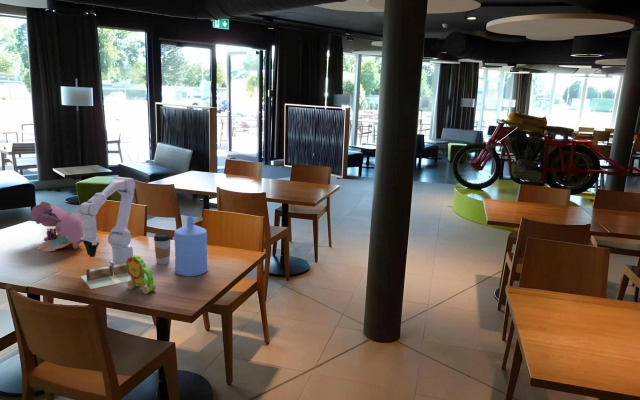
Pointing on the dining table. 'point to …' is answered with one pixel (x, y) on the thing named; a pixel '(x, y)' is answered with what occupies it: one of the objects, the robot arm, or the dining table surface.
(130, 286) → the toy lion
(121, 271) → the fixed fence section
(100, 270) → the hinged fence section
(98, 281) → the card
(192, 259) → the water jug
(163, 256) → the coffee cup
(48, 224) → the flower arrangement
